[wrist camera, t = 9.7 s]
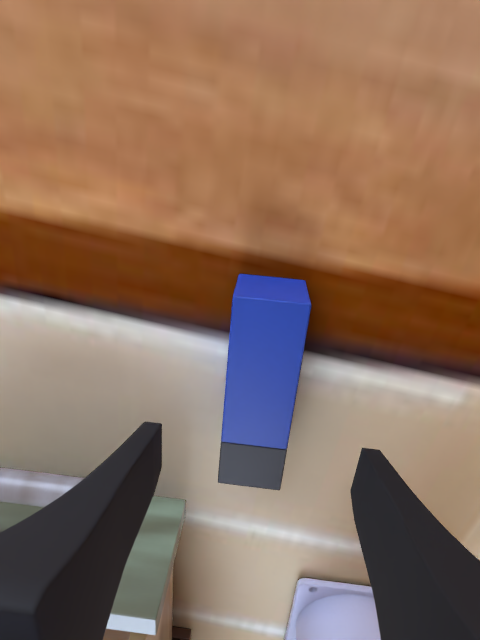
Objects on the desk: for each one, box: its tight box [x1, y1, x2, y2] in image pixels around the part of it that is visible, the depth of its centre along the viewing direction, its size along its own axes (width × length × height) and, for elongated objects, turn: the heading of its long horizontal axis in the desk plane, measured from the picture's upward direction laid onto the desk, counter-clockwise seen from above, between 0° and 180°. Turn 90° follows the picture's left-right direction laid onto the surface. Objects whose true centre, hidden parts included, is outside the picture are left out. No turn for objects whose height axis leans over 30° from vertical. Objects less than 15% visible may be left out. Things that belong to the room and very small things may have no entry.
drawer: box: [0, 467, 186, 640], centre depth 22 cm, size 20×13×6 cm
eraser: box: [218, 274, 311, 490], centre depth 18 cm, size 10×3×3 cm, turn 175°
